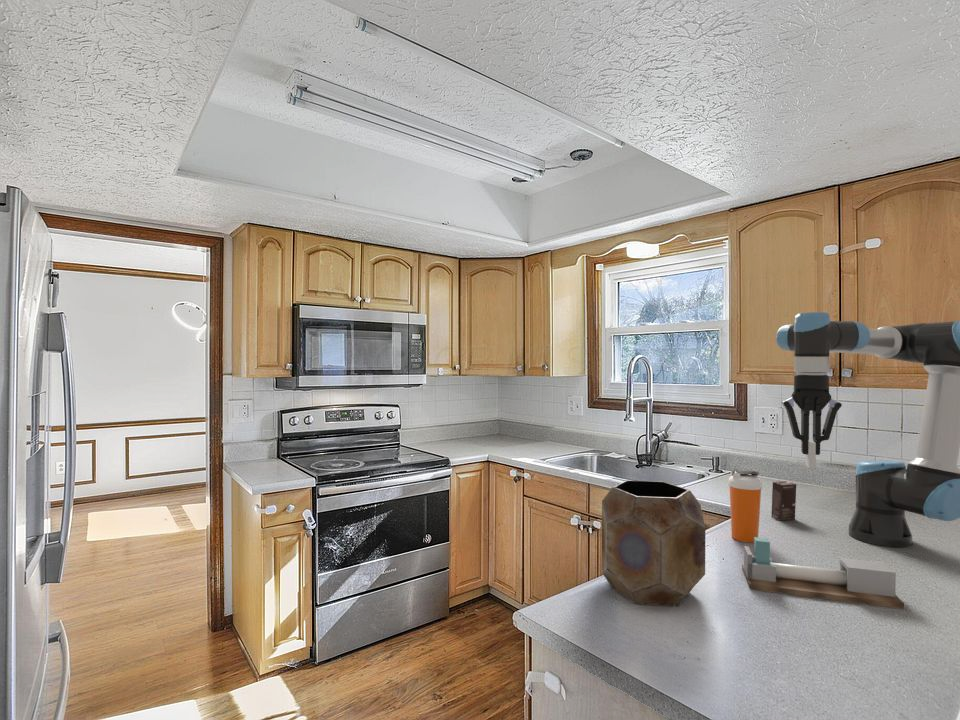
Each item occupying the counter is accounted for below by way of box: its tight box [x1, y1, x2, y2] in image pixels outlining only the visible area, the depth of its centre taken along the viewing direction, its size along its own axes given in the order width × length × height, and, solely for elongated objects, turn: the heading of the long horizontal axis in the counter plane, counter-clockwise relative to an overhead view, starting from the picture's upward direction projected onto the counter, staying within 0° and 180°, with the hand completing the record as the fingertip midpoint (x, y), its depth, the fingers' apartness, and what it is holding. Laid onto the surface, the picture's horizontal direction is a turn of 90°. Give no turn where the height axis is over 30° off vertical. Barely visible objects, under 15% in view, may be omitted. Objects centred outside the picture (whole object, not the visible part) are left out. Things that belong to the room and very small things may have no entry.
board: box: [741, 564, 905, 610], centre depth 124 cm, size 30×12×1 cm, turn 71°
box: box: [771, 480, 797, 521], centre depth 176 cm, size 6×4×12 cm
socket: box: [743, 545, 776, 582], centre depth 128 cm, size 6×6×6 cm
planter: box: [601, 480, 706, 607], centre depth 123 cm, size 22×24×24 cm
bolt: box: [753, 536, 847, 586], centre depth 125 cm, size 20×3×9 cm, turn 71°
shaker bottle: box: [728, 469, 763, 543], centre depth 157 cm, size 9×9×20 cm
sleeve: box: [839, 557, 897, 597], centre depth 121 cm, size 9×6×5 cm, turn 71°
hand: (810, 467), depth 133 cm, fingers closed
